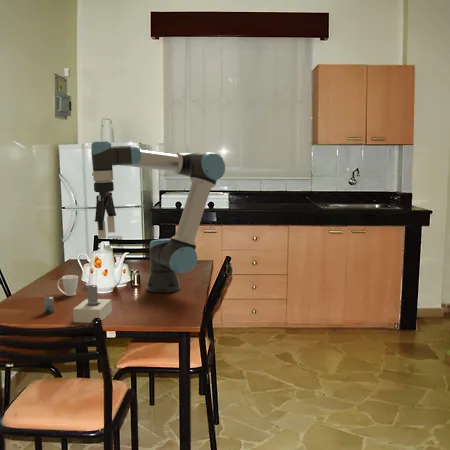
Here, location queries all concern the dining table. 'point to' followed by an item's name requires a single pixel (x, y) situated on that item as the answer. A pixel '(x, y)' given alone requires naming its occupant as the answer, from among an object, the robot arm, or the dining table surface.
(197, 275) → the dining table surface
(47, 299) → the short pin
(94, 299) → the long pin
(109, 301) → the hole block
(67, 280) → the cup
